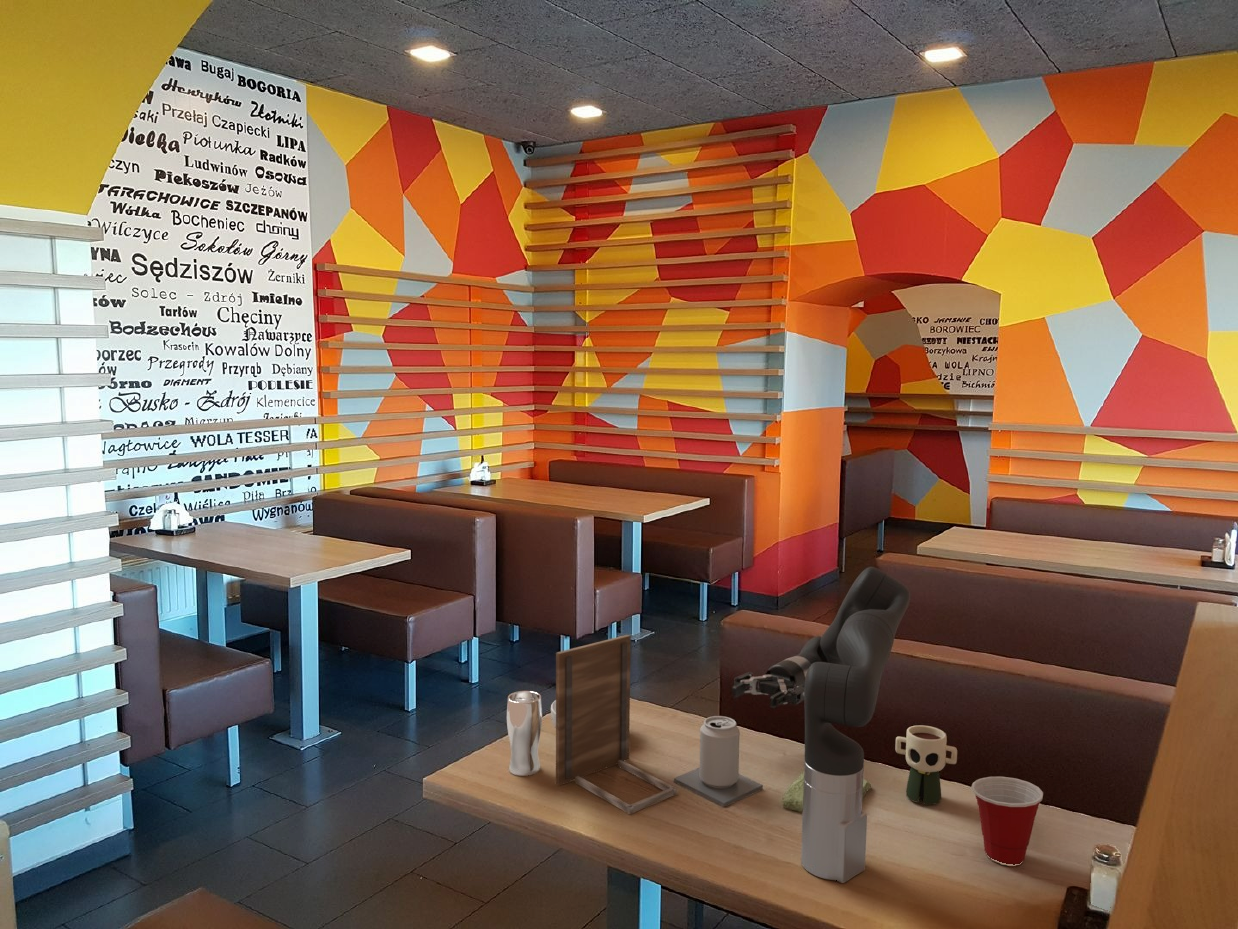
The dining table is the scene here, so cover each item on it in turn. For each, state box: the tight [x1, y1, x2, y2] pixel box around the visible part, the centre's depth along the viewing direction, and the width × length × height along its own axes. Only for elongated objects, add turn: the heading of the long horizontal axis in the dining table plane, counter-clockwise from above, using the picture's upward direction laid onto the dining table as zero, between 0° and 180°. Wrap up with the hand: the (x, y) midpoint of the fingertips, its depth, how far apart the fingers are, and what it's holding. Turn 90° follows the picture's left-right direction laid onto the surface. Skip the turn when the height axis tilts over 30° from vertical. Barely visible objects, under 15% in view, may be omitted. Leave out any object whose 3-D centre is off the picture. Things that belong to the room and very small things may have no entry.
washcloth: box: [781, 770, 872, 814], centre depth 166 cm, size 13×18×3 cm
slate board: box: [673, 766, 764, 808], centre depth 171 cm, size 13×11×1 cm
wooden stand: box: [555, 634, 678, 815], centre depth 168 cm, size 18×18×26 cm
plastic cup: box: [970, 776, 1044, 865], centre depth 146 cm, size 11×11×12 cm
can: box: [699, 715, 741, 788], centre depth 170 cm, size 8×8×12 cm
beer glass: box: [506, 690, 543, 777], centre depth 176 cm, size 7×7×15 cm
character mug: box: [894, 725, 958, 805], centre depth 165 cm, size 11×7×13 cm, turn 63°
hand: (752, 697), depth 177 cm, fingers open, 8 cm apart
